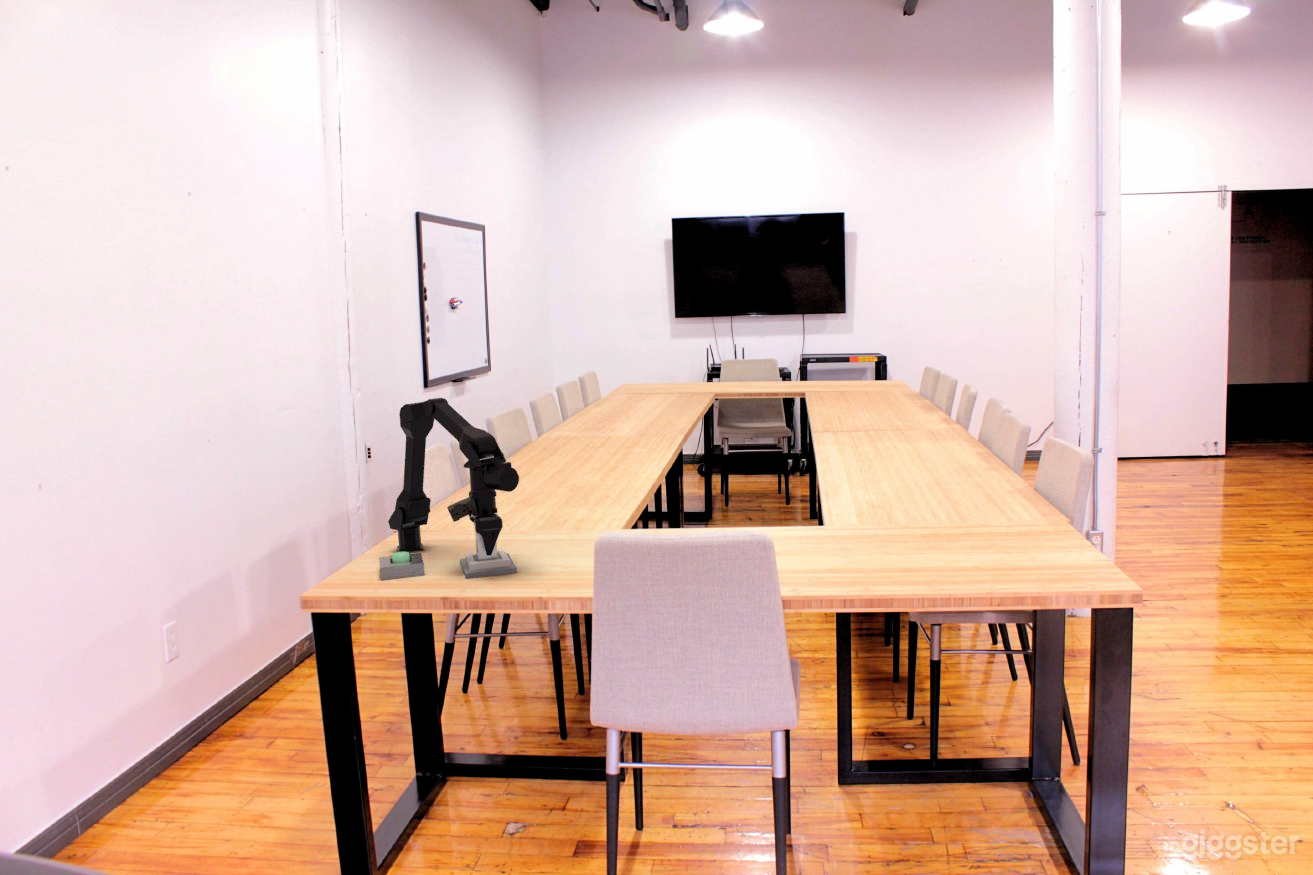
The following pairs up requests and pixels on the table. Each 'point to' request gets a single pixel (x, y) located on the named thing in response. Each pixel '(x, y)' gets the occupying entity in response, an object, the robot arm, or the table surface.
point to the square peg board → (401, 567)
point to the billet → (481, 550)
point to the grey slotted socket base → (487, 565)
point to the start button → (400, 557)
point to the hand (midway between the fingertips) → (486, 550)
